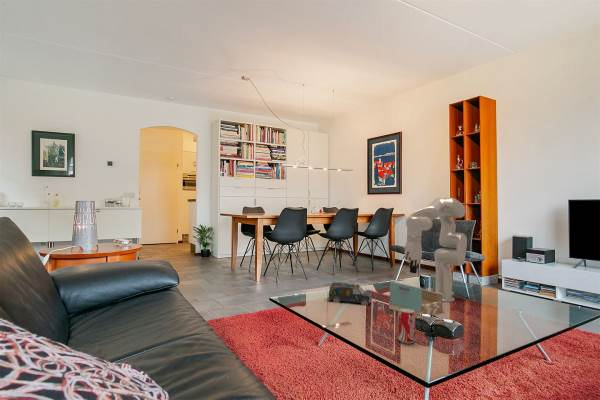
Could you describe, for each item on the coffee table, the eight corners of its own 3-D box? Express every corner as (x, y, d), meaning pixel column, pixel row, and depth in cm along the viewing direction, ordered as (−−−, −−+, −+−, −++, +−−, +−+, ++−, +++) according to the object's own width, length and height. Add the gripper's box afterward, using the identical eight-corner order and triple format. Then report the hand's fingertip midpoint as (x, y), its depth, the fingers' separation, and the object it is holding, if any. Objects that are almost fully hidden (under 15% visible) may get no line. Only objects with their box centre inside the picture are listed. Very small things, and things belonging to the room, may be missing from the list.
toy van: (370, 306, 188) (370, 288, 188) (327, 302, 194) (328, 285, 194) (371, 301, 199) (371, 284, 199) (330, 297, 204) (330, 281, 205)
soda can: (394, 337, 142) (395, 307, 142) (410, 337, 143) (411, 307, 143) (401, 344, 135) (401, 312, 135) (418, 344, 136) (418, 312, 136)
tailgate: (390, 302, 184) (391, 281, 184) (421, 311, 169) (421, 288, 169) (388, 303, 183) (389, 281, 183) (419, 312, 168) (419, 288, 168)
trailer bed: (410, 303, 196) (410, 286, 196) (442, 312, 180) (442, 293, 180) (389, 308, 184) (389, 290, 184) (421, 318, 168) (421, 299, 168)
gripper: (416, 238, 189) (415, 270, 188) (399, 239, 180) (399, 272, 179) (427, 239, 183) (427, 272, 182) (411, 240, 174) (411, 275, 173)
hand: (413, 272), depth 181 cm, fingers closed
